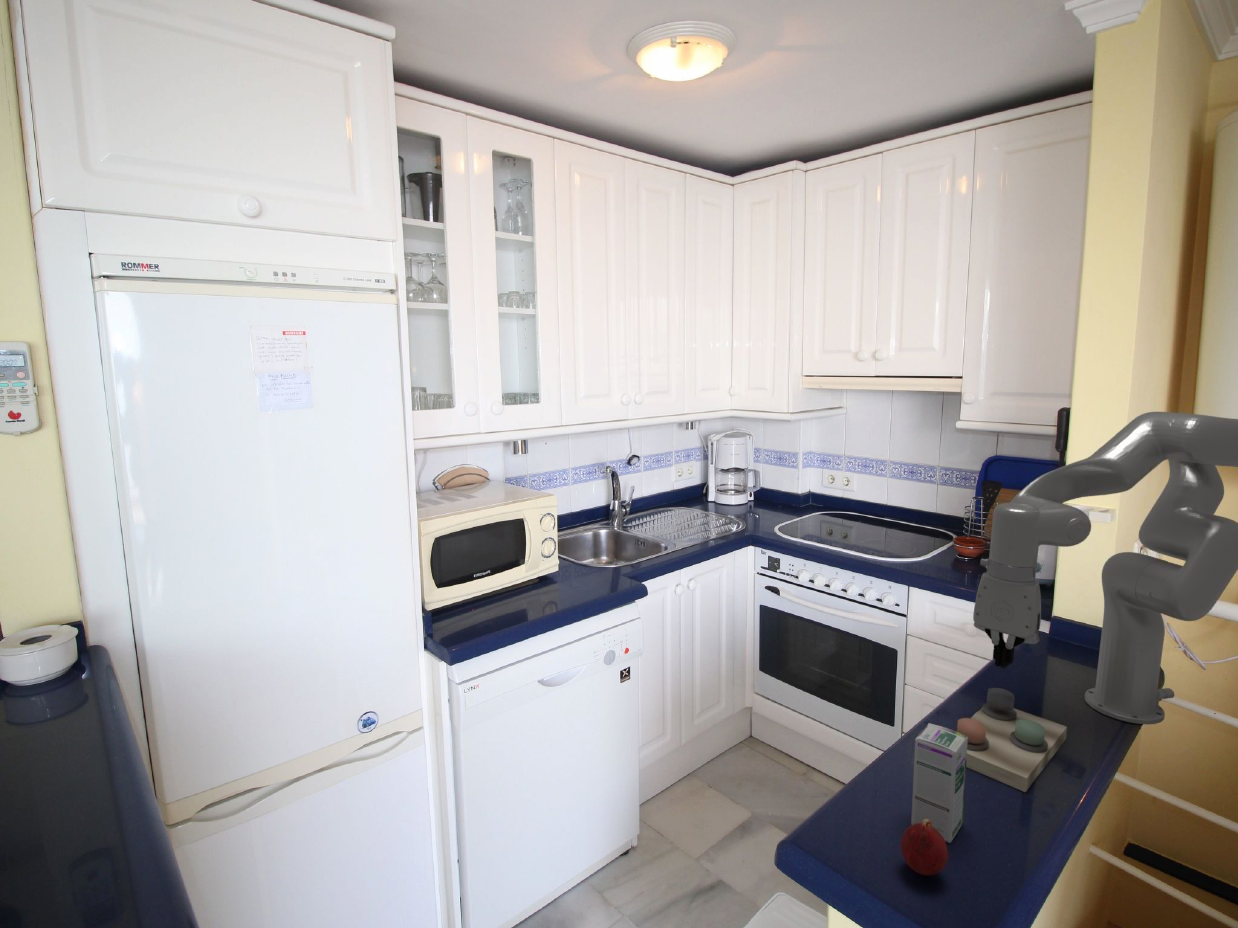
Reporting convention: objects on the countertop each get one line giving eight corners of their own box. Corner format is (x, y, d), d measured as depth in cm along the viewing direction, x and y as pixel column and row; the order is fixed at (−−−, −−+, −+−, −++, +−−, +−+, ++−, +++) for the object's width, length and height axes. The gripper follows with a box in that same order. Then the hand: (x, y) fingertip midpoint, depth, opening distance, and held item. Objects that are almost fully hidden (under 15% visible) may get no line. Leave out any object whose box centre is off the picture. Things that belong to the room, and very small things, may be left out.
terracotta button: (962, 726, 118) (963, 715, 117) (989, 736, 114) (990, 725, 114) (952, 735, 115) (953, 724, 114) (979, 746, 111) (980, 734, 111)
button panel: (988, 711, 129) (990, 696, 129) (1065, 739, 120) (1067, 723, 119) (942, 756, 115) (943, 739, 114) (1025, 792, 105) (1027, 774, 105)
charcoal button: (991, 695, 127) (992, 685, 126) (1017, 704, 123) (1018, 693, 123) (983, 703, 124) (984, 693, 123) (1008, 713, 121) (1009, 701, 120)
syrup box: (951, 844, 94) (958, 752, 92) (908, 825, 98) (914, 736, 96) (963, 824, 98) (970, 735, 96) (921, 806, 102) (928, 720, 100)
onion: (940, 897, 85) (945, 842, 83) (894, 876, 88) (897, 823, 87) (949, 869, 89) (954, 817, 88) (905, 851, 93) (908, 800, 92)
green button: (1019, 727, 117) (1020, 716, 117) (1047, 738, 114) (1048, 726, 113) (1010, 737, 114) (1011, 725, 114) (1039, 748, 111) (1040, 736, 111)
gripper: (960, 565, 122) (952, 657, 125) (1052, 585, 111) (1041, 686, 114) (975, 557, 127) (967, 646, 130) (1065, 576, 116) (1054, 672, 119)
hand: (1002, 664), depth 122 cm, fingers closed
